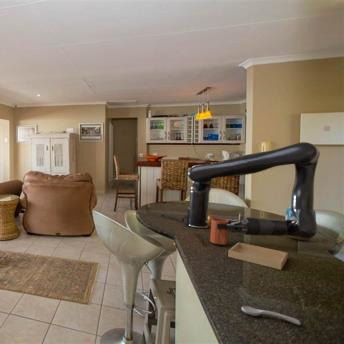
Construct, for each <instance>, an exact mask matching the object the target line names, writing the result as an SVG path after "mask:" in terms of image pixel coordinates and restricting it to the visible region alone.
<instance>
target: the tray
mask: <svg viewBox="0 0 344 344" xmlns="http://www.w3.org/2000/svg"><path fill="white" fill-rule="evenodd" d="M227 253H228V254H227V257H228V258H232V259H235V260H239V261H244V262H248V263H252V264H256V265H260V266H263V267H269V268H272V269H276V270H280V271H281V270H282V269H283V267H284V265H285V264H286V262H287V260H288V254H289V253H288V252H287V251H282V250H277V249H272V248H268V247H262V246H258V245H253V244H250V243H244V242H237V243H236V244H235V245H233V246H232V247H231V248H229V249H228V252H227Z"/></svg>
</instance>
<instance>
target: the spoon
mask: <svg viewBox="0 0 344 344" xmlns="http://www.w3.org/2000/svg"><path fill="white" fill-rule="evenodd" d="M241 311H242V312H243V313H245V314H247V315H249V316H252V317H257V316H260V315H267V316H268V315H269V316H273V317H276V318H279V319H282V320H285V321H287V322H289V323H292V324H294V325H297V326H301V325H302V324H301V321H300V320H298V318H295V317H292V316H288V315H286V314H282V313H279V312H275V311H270V310H265V309H257V308H255V307H253V306H248V305H242V306H241Z"/></svg>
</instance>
